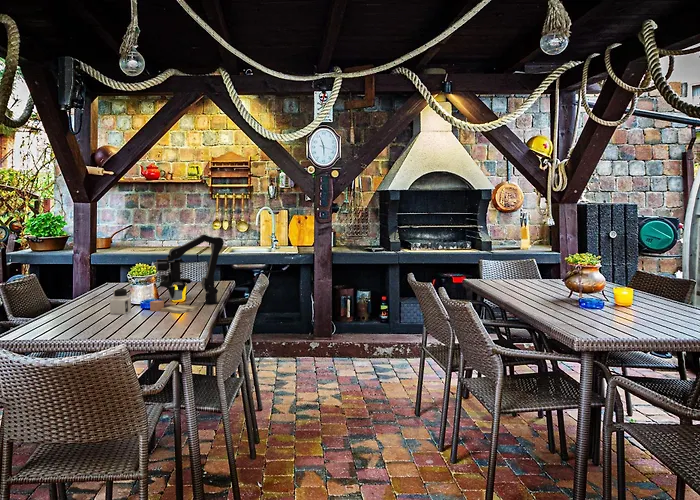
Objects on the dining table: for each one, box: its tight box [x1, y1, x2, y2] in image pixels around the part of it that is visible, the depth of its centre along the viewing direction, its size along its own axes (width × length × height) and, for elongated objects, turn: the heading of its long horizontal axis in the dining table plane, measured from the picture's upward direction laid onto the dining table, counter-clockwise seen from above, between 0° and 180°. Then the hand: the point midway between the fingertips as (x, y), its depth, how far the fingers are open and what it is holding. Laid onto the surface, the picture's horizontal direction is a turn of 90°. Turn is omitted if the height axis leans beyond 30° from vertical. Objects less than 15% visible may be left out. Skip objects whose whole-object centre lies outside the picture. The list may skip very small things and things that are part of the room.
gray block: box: [168, 289, 183, 301], centre depth 312 cm, size 5×5×5 cm
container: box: [109, 288, 132, 315], centre depth 292 cm, size 8×8×13 cm
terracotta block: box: [149, 299, 165, 312], centre depth 300 cm, size 5×5×5 cm
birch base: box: [160, 304, 200, 315], centre depth 301 cm, size 14×14×2 cm
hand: (175, 297), depth 312 cm, fingers closed on gray block, 5 cm apart
